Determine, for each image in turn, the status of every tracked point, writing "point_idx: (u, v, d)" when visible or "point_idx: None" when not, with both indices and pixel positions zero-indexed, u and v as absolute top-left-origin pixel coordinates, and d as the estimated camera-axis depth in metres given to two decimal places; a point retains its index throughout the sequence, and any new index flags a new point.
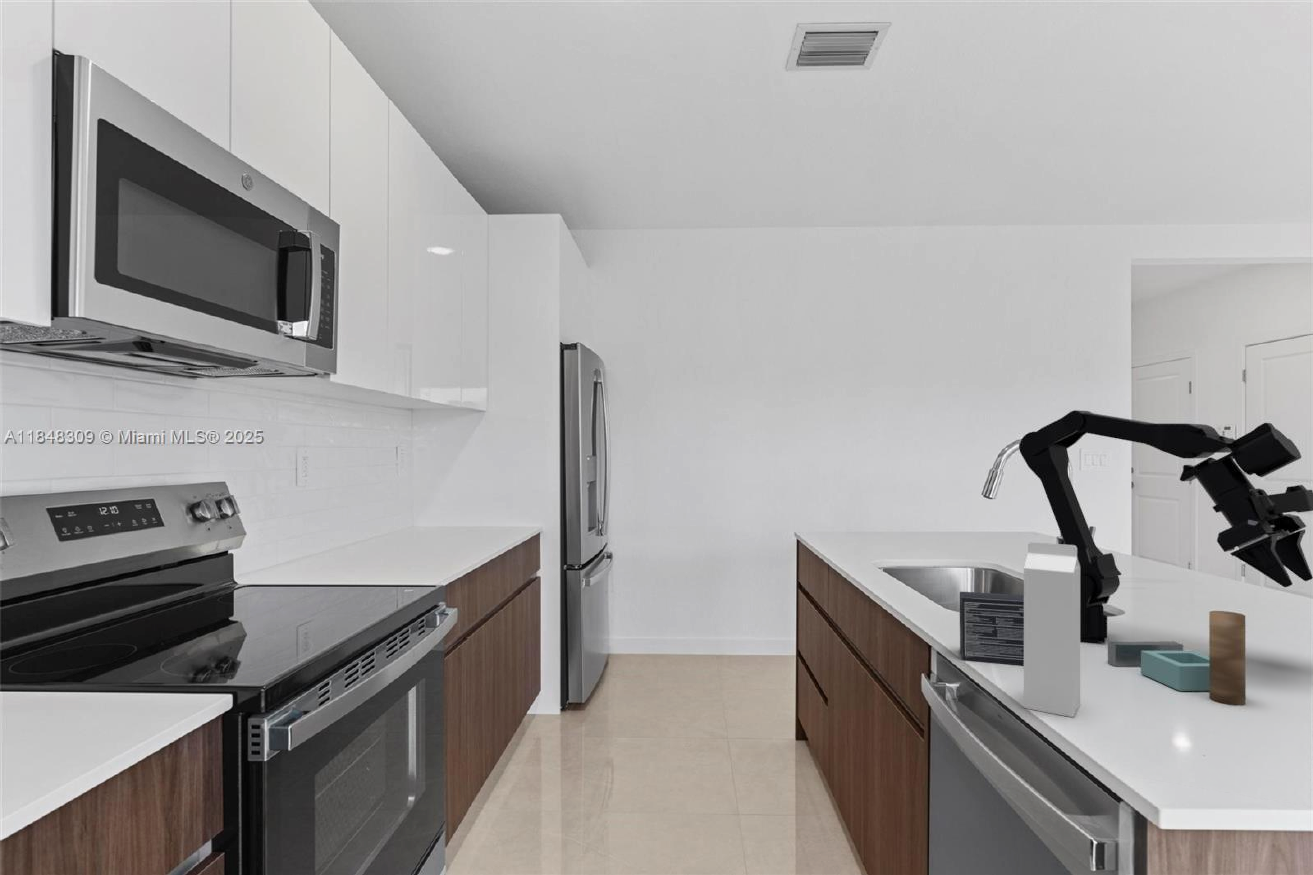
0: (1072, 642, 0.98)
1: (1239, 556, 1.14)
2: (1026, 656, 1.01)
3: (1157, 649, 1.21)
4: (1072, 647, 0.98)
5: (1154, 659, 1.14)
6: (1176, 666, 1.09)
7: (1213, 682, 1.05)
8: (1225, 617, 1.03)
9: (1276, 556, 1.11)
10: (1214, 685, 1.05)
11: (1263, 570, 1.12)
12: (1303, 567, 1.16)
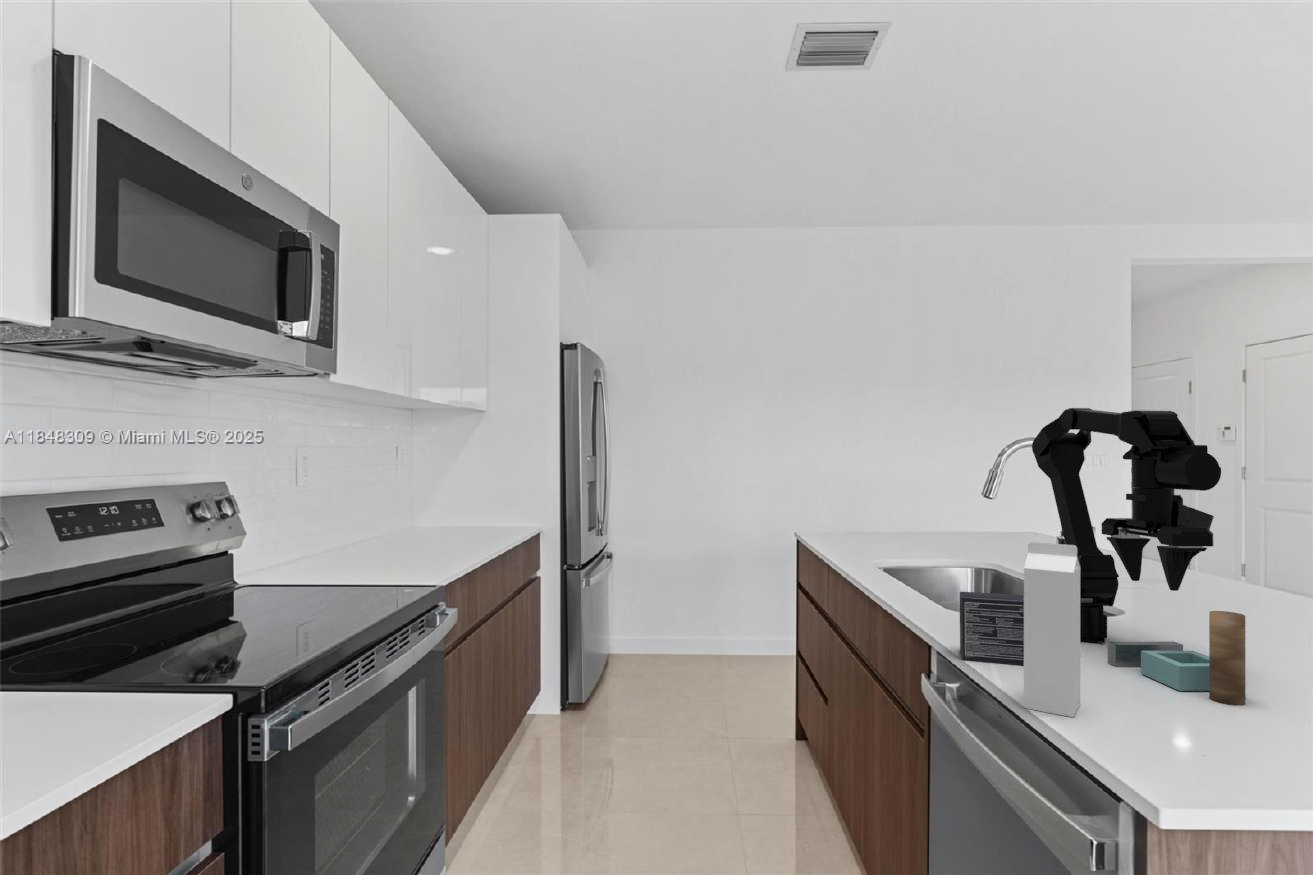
0: (1072, 642, 0.98)
1: (1167, 552, 1.14)
2: (1026, 656, 1.01)
3: (1157, 649, 1.21)
4: (1072, 647, 0.98)
5: (1154, 659, 1.14)
6: (1176, 666, 1.09)
7: (1213, 682, 1.05)
8: (1225, 617, 1.03)
9: None
10: (1214, 685, 1.05)
11: (1171, 571, 1.15)
12: (1138, 569, 1.26)
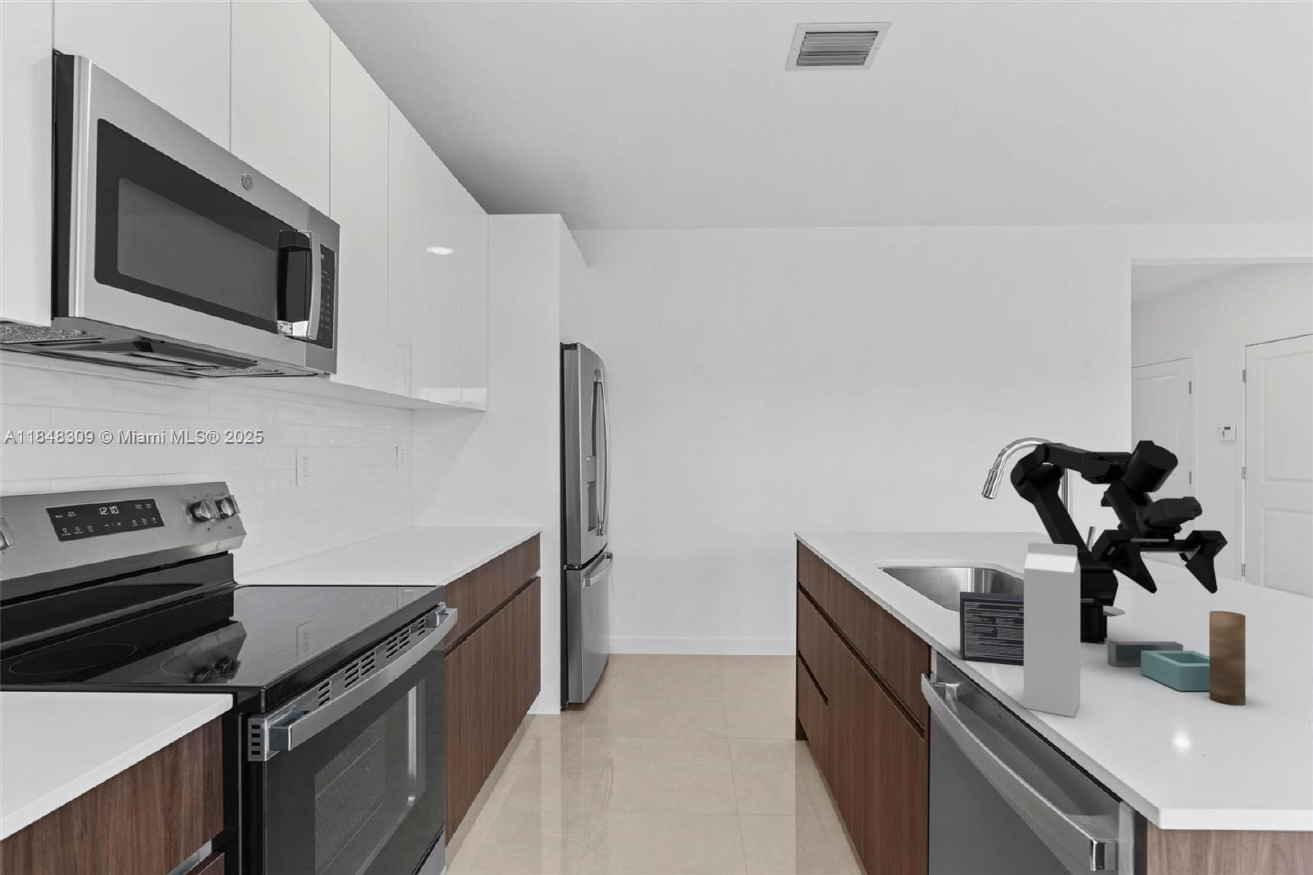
0: (1072, 642, 0.98)
1: (1115, 567, 1.19)
2: (1026, 656, 1.01)
3: (1157, 649, 1.21)
4: (1072, 647, 0.98)
5: (1154, 659, 1.14)
6: (1176, 666, 1.09)
7: (1213, 682, 1.05)
8: (1225, 617, 1.03)
9: (1139, 563, 1.15)
10: (1214, 685, 1.05)
11: (1134, 578, 1.16)
12: (1208, 579, 1.14)
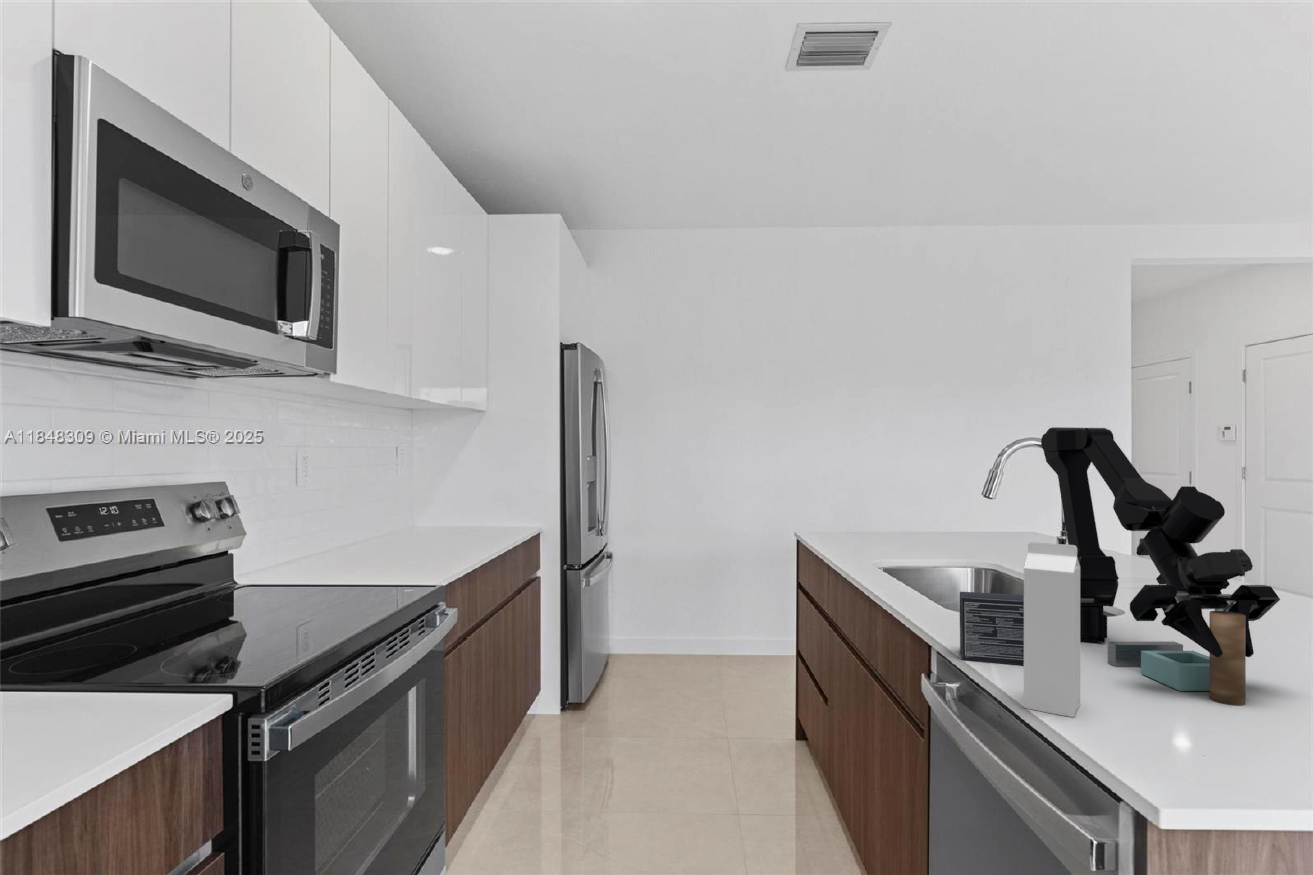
0: (1072, 642, 0.98)
1: (1173, 626, 1.09)
2: (1026, 656, 1.01)
3: (1157, 649, 1.21)
4: (1072, 647, 0.98)
5: (1154, 659, 1.14)
6: (1176, 666, 1.09)
7: (1213, 682, 1.05)
8: (1225, 617, 1.03)
9: (1201, 623, 1.05)
10: (1214, 685, 1.04)
11: (1195, 639, 1.06)
12: None
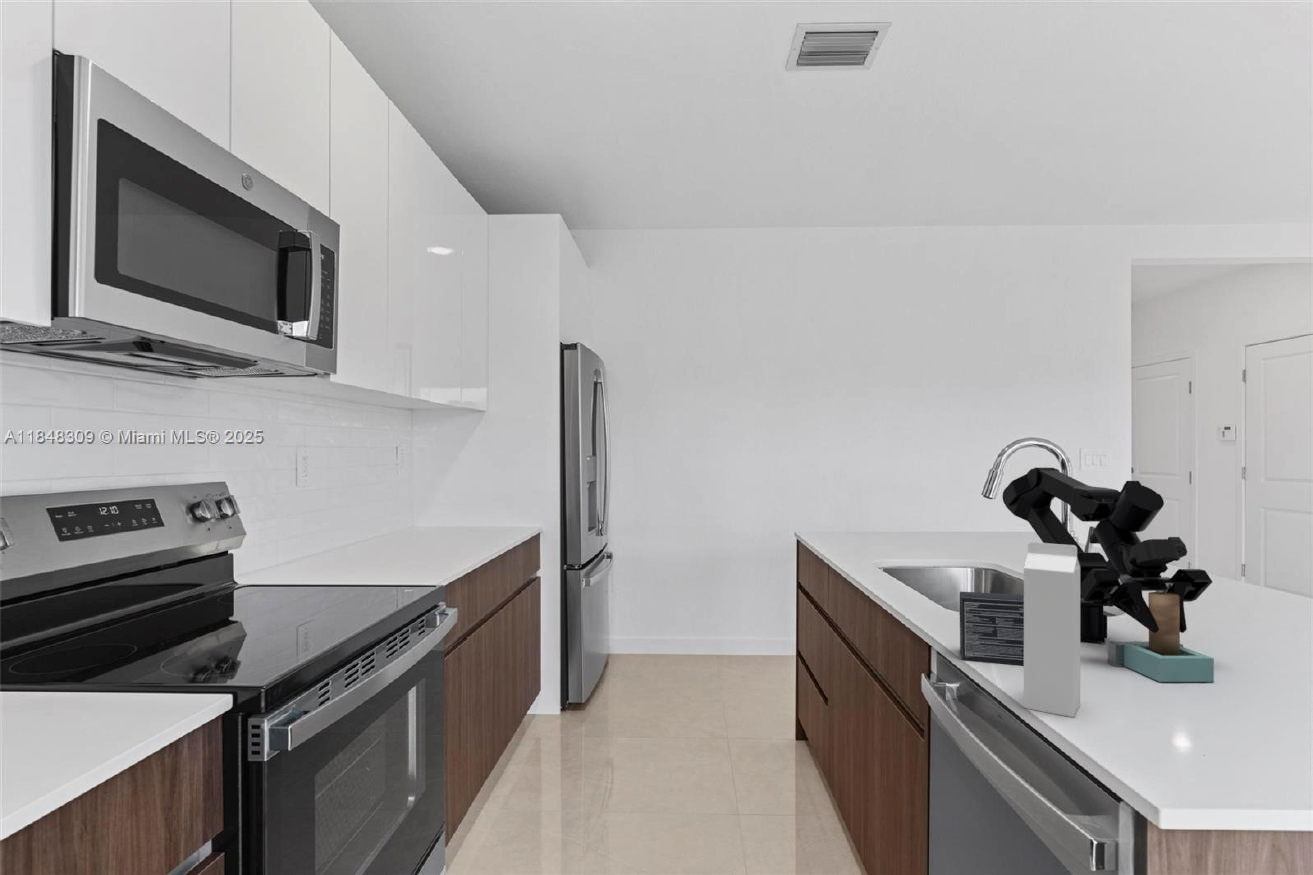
0: (1072, 642, 0.98)
1: (1117, 605, 1.22)
2: (1026, 656, 1.01)
3: None
4: (1072, 647, 0.98)
5: (1136, 652, 1.18)
6: (1157, 658, 1.13)
7: None
8: (1161, 597, 1.16)
9: (1141, 603, 1.18)
10: None
11: (1136, 617, 1.19)
12: None
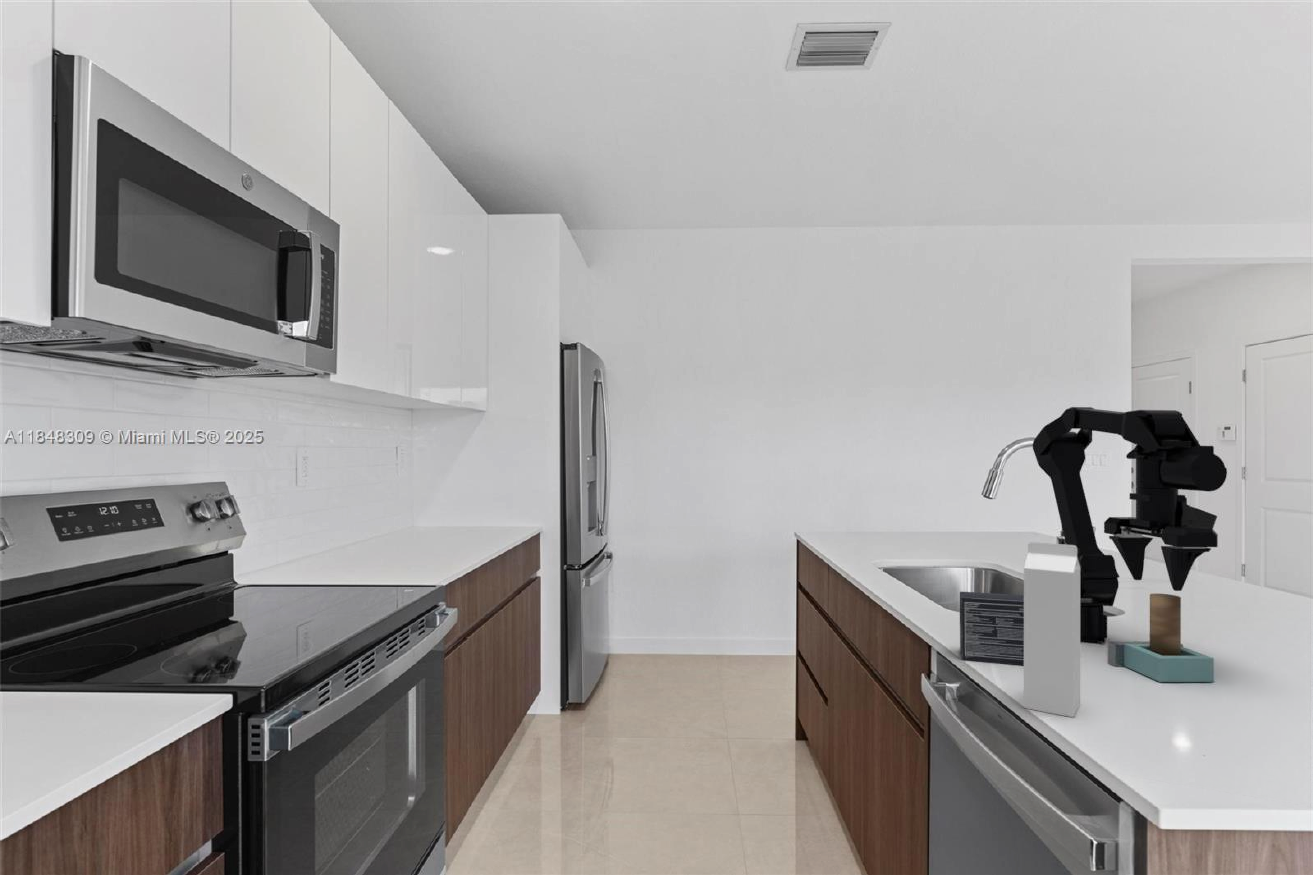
0: (1072, 642, 0.98)
1: (1172, 553, 1.14)
2: (1026, 656, 1.01)
3: None
4: (1072, 647, 0.98)
5: (1136, 652, 1.18)
6: (1157, 658, 1.13)
7: None
8: (1162, 598, 1.16)
9: None
10: None
11: (1175, 571, 1.15)
12: (1141, 568, 1.25)
